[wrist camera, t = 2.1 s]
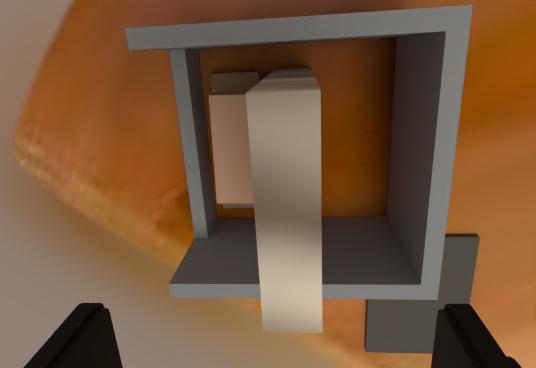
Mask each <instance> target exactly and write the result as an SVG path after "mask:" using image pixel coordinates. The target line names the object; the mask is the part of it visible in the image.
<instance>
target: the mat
mask: <svg viewBox="0 0 536 368" xmlns="http://www.w3.org/2000/svg"><path fill="white" fill-rule="evenodd" d="M479 238H480V237H479V236H478V235H477V234H445V241H444V250H443V258H442V266H441V275H440V283H439V291H438V300H407V299H367V309H366V333H365V351H366V352H386V353H432V354H433V347H434V338H435V329H436V321H437V313H438V310H439V309H444V306H445V304H469V303H470V296H471V290H472V284H473V277H474V271H475V264H476V258H477V251H478V245H479Z"/></svg>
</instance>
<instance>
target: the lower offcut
mask: <svg viewBox="0 0 536 368" xmlns="http://www.w3.org/2000/svg"><path fill="white" fill-rule="evenodd" d="M210 80H211V90H212V93H214V92H234V91H249V90H250V89H251V88H253V87H254V86H255V85H256V84H258V83H259V82H260V81H261V70H258V71H236V72H215V73H211V74H210ZM222 204H223V208H254V204H243V203H222Z"/></svg>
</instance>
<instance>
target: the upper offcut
mask: <svg viewBox="0 0 536 368" xmlns="http://www.w3.org/2000/svg"><path fill="white" fill-rule="evenodd" d="M246 92H248V91H234V92H214V93H212V94H210V95H209V107H210V120H211V133H212V146H213V159H214V171H215V184H216V197H217V203H243V204H254V199H253V185H252V172H251V158H250V144H249V131H248V117H247V104H246Z"/></svg>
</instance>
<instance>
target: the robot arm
mask: <svg viewBox="0 0 536 368" xmlns="http://www.w3.org/2000/svg"><path fill="white" fill-rule="evenodd" d="M24 368H123V367H122V363H121V359H120V354H119V350H118V346H117V341H116V338H115V333H114V329H113V324H112V321H111V316H110V312H109V310H108V309H107V308H104V306H103V304H102V303H81V304H79V305H78V306H77V307H76V308H75V309H74V310H73V311H72V313H71V314H70V315H69V316H68V317H67V319H66V320H65V321H64V322H63V323H62V324H61V325H60V327H59V328H58V329H57V330H56V331H55V332H54V333H53V334H52V336H51V337H50V338H49V339H48V340H47V341H46V343H45V344H44V345H43V346H42V347H41V348H40V349H39V351H38V352H37V353H36V354H35V355H34V356H33V358H32V359H31V360H30V361H29V362H28V363H27V364H26V366H25V367H24ZM431 368H521V366H520V365H519V364H518V363H517V362H516V360H515V359H513V358H511V357H506V355H505V354H504V353H503V351H502V350H501V348H500V347H499V345H498V344H497V342H496V341H495V339H494V338H493V337H492V335H491V334H490V332H489V331H488V329H487V328H486V326H485V325H484V324H483V322H482V321H481V319H480V318H479V316H478V315H477V313H476V312H475V310H474V309H473V308H472V306H471V305H470V304H445V306H444V309H439V310H438V313H437V321H436V329H435V338H434V347H433V355H432V364H431Z"/></svg>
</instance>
